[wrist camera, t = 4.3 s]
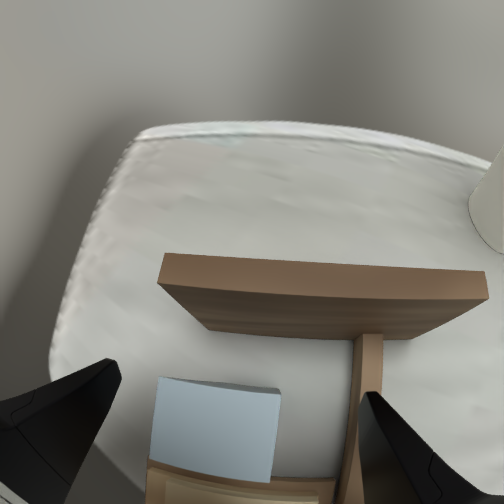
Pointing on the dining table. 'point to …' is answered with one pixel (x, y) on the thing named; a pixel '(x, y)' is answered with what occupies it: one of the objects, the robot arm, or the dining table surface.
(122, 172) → the dining table surface
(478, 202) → the cylindrical container
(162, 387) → the slate slat
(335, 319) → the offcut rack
